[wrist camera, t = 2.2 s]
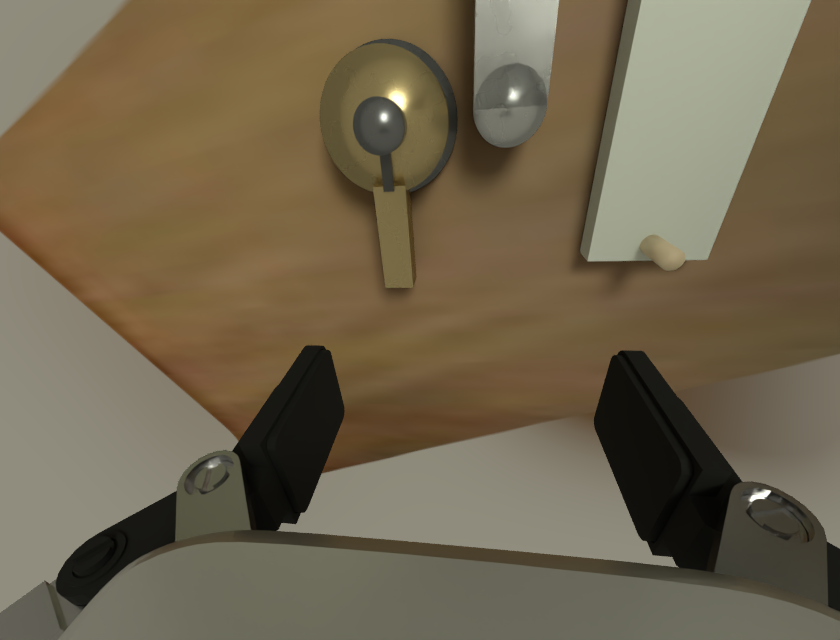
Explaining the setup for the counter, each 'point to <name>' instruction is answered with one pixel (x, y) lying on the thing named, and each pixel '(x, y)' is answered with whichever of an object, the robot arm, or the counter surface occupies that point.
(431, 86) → the gold handled disc
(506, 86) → the steel bar
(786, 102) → the counter surface
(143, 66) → the counter surface
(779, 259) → the counter surface
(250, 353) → the counter surface
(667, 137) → the peg rest
